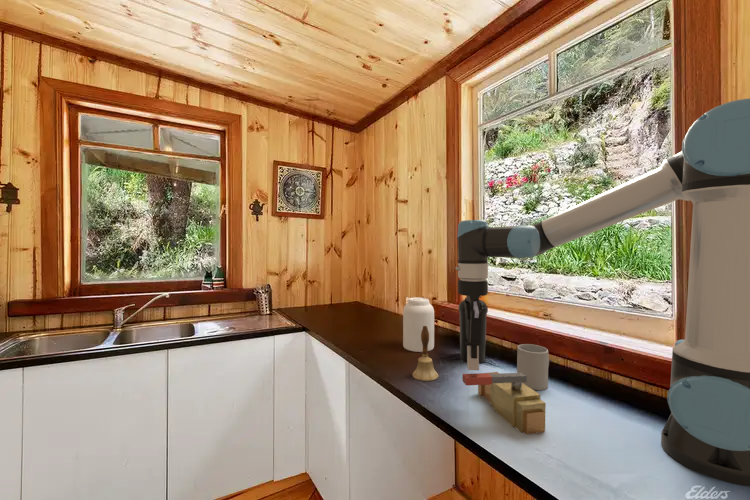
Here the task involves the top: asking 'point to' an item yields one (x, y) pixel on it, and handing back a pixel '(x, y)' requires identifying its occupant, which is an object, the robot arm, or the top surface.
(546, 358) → the mug
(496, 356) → the top surface
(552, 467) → the top surface
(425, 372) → the hand bell
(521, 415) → the valve
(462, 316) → the water bottle
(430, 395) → the top surface
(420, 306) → the white lidded jar
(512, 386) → the lever
